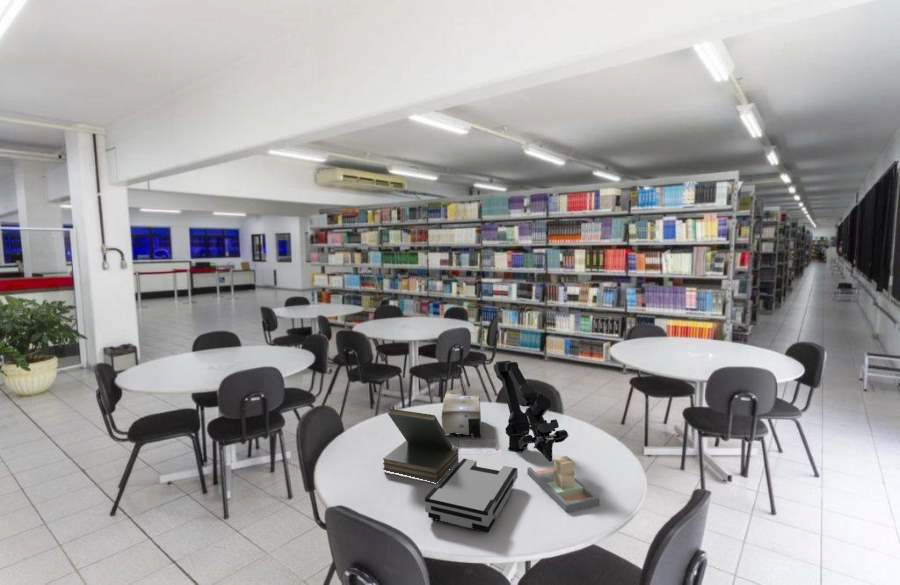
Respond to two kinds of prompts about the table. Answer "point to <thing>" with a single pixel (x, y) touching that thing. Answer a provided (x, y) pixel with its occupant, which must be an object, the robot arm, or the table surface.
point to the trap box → (564, 491)
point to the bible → (420, 447)
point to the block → (564, 472)
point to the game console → (471, 495)
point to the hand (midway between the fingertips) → (551, 461)
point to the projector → (461, 414)
